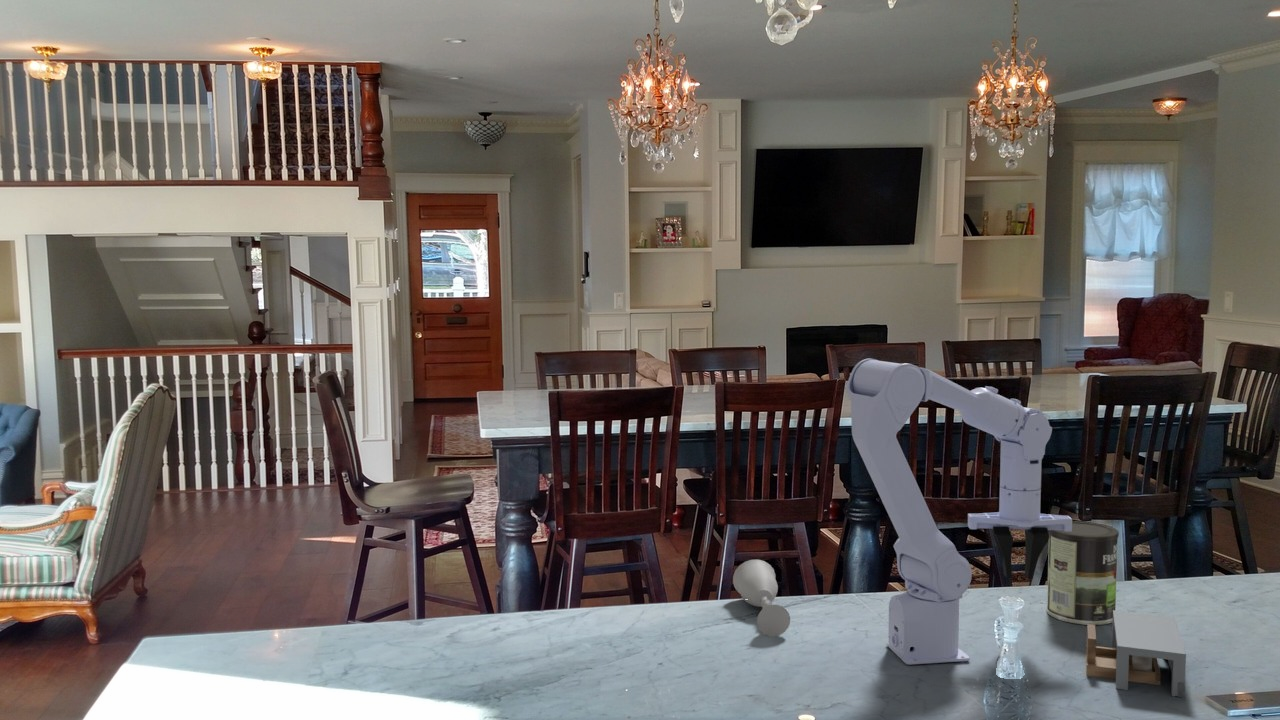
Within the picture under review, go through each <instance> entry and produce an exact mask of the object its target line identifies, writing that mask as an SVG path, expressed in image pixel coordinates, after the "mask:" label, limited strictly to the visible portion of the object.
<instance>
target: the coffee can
mask: <svg viewBox="0 0 1280 720" xmlns="http://www.w3.org/2000/svg"><path fill="white" fill-rule="evenodd" d="M1119 532H1120V531H1119V530H1118V529H1116V528H1115V527H1112V526H1110V525H1107V524H1103V523H1097V522H1091V521H1081V520H1072V531H1071V532H1070V531H1064V530H1048V533H1049V540H1048V551H1047V552H1048V555H1047V556H1048V558H1047V559H1048V560H1047V595H1046V596H1047V601H1046V603H1047V605H1046V613H1047V614H1048V615H1049V616H1051V617H1052V618H1054V619H1056V620H1059V621H1061V622H1065V623H1070V624H1074V625H1075V624H1076V625H1081V626H1082V625H1084V626H1087V624H1090V625H1095V626H1103V625H1108V624H1112V622H1113V610H1115V611H1116V606H1117V605H1116V603H1117V602H1116V600H1117V568H1118V567H1117V566H1118V540H1119V539H1118V538H1119Z"/></svg>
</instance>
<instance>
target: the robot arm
mask: <svg viewBox="0 0 1280 720" xmlns="http://www.w3.org/2000/svg"><path fill="white" fill-rule="evenodd" d="M851 370H852V371H851V373H850V375H849V377H848V380H847V382H846V385H845V392H846V394H847V396H848V398H849V400H850V411H851V415H850V417H851V418H850V419H851V435H852V439H853V442H854V444H855V446H856V448H857V450H858V453H859V455H860V457H861V459H862V461H863V463H864V466H865V467H866V468H865V469H866V470H867V472H868V474H869V476H870V478H871V481H872V482H873V484H874V487H875V489H876V491H877V493H878V495H879V497H880V498H879V499H881V502H882V504H883V506H884V508H885V511H886V512H887V514H888V515H887V516H888V517H889V519H890V521H891V523H892V525H893V528H894V530H895V532H896V534H897V536H898V538H897V539H896V541H895V542H894V544H893V546H892V547H893V548H894V551H895V554H896V562H897V563H896V567H897V572H898V573H899V576H900V577H901V578H902V579H903V580H904V588H905V589H907V591H905V592H903V593H900V594H895V595H892V596H891V597H890V600H889V604H888V641H886V646H887V647H888V648H889V649H890V650H891V651H892V652H893V653H894V654H895V655H896V656H897V657H898V658H900V660H901V661H902V662H903V663H904V664H906V665H908V666H909V665H922V664H923V665H925V664H939V663H941V664H942V663H954V662H955V663H956V662H969V661H970V660H971V658H970V656H969V655H968V654H967V653H965V652H964V651H963V650H962V649H960V648H959V639H960V638H959V636H960V635H959V633H960V632H959V631H960V630H959V629H960V600H961V599H963V595H964V594H965V592H967V590H968V588H969V587H970V584H971V581H972V573H973V571H972V567H971V565H970V563H969V562H970V561H968V560H967V558H966V557H964V556H963V555H961V554H960V553H959V552H958V550H957V548H956V545H955V544H954V543H953V542H952V541H951V540H950V539H949V538H948V537H947V536H946V535H944V534H943V532H941V531H940V530H939V529H938V527H937V524H936V522H935V520H934V518H933V516H932V513H931V511H930V509H929V507H928V505H927V502H926V500H925V498H924V496H923V494H922V492H921V489H920V487H919V485H918V482H917V480H916V478H915V476H914V473H913V471H912V470H911V467H910V465H909V462H908V460H907V458H906V457H905V453H904V452H903V449H902V447H901V445H900V443H899V441H898V438H897V434H898V432H899V431H901V430H902V428H903V427H904V426H905V424H906V423H907V421H908V420H909V418H910V417H911V415H912V414H913V413H914V411H915V410H916V409H917V407H918V406H919V404H920V403H921V402H925V403H926V402H928V401H929V400H930V401H932V402H936V403H938V404H941V405H943V406H946V407H948V408H951V409H953V410H956V411H959V412H960V417H961V419H962V421H963V422H964V423H965V424H967V425H968V426H971V427H974V428H976V429H978V430H981V431H982V432H986V433H987V434H989V435H992V436H994V439H995V440H996V441H998V442H1000V463H999V465H1000V466H999V468H1000V469H999V471H1000V472H999V500H998V501H999V506H998V511H997V512H982V513H980V512H979V513H967V527H968V528H969V530H978V529H989V531H990V533H991V535H992V537H993V539H994V542H995V545H996V547H997V550H998V553H999V556H1000V560H1001V561H1000V562H1001V564H1002V565H1001V566H1002V573H1003V576H1004V577H1005V579H1012V571H1013V570H1012V569H1013V568H1012V555H1013V554H1012V553H1013V544H1014V543H1013V542H1014V536H1013V535H1012V531H1011V530H1024V539H1025V540H1024V541H1025V558H1024V576H1025V577H1026V578H1027V579H1029V580H1030V579H1031V580H1033V579H1034V573H1035V571H1036V567H1037V564H1038V561H1039V559H1040V556H1041V554H1042V552H1043V550H1044V548H1045V547H1046V545H1047V544H1048V543H1049V531H1048V530H1064V531H1070V532H1071V531H1072V521H1073V518H1071V517H1070V516H1069V515H1063V514H1062V515H1061V514H1057V515H1056V514H1049V513H1048V514H1046V513H1041V492H1042V489H1041V488H1042V462H1043V461H1042V460H1043V459H1044V455H1046V447H1047V446H1046V445H1047V443H1048V442H1049V440H1050V439H1051V435H1052V432H1053V427H1052V426H1051V425H1050V422H1049V420H1048V418H1047V416H1046V415H1045V413H1044V412H1042V411H1041V410H1040V409H1036V408H1030V407H1024V406H1023V405H1022V401H1021V400H1019V399H1016V398H1010V399H1009V398H1007V397H1005V396H1003V395H1000V394H998V393H999V389H998V388H995V387H993V386H987V385H985V386H984V387H975V388H974V389H971V390H969V389H968V388H966V387H963V386H962V385H959V384H958V383H955V382H953V380H949V379H947V378H946V377H944V376H942V375H940V374H938V373H936V372H934V371H932V370H930V369H928V368H925V367H919V366H916V365H915V364H912V363H907V362H906V363H897V362H891V361H883V360H878V359H875V358H865V359H862V360H860V361H858V363H856V364H855V366H854V367H853V368H852V369H851Z"/></svg>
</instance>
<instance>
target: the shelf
mask: <svg viewBox="0 0 1280 720" xmlns="http://www.w3.org/2000/svg"><path fill="white" fill-rule="evenodd" d="M1111 624H1112V625H1111V626H1112V629H1111V633H1112V634H1111V648H1116V649H1117V659H1116V679H1115V689H1118V690H1125V691H1128V690H1129V681H1128V671H1129V655H1135V656H1143V657H1151V658H1157V659H1162V660H1168V665H1169V669H1170V673H1171V689H1170V690H1171V691H1170V693H1171V696H1172V697H1175V696H1178V698H1183V697H1184V698H1185V689H1186V688H1185V686H1186V668H1187V667H1186V666H1187V665H1186V663H1187V661H1186V660H1187V654H1186V649H1185V646H1184V642H1183V639H1182V637H1181V633H1180V630H1179V627H1178V622H1177V620H1176V617H1175V616H1172V615H1171V616H1170V615H1160V614H1150V613H1142V612H1132V611H1131V612H1130V611H1122V610H1116V609H1115V610H1113V622H1112V623H1111Z"/></svg>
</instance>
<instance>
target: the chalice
mask: <svg viewBox="0 0 1280 720" xmlns="http://www.w3.org/2000/svg"><path fill="white" fill-rule="evenodd" d="M776 576H777V575H776V573H775V569H774V567H772V565H771V564H769V563H768V562H766V561H765V560H761V559H749V560H746V561H744V562H743V563H741V564H739V565H738V567H736V569H735V571H734V573H733V575H732V584H733V587H734V588H735V590H736V591H737V593H739V594H740V595H741V598H742V599H743V600H744V599H748V600H744V602H746V603H747V604H749V605H751V606H754V607H758V608H760V607H761V610H760V612H759V613H758V615H757V618H756V624H757V627H758V629H759V631H760V632H761V633H762V634H764V635H765V636H768V637H777V636H781V635H782V634H784V633H785V632H786V631H787V630H788V629H789V626H790V623H791V616H790V613H789V611H788V610H787V609H786V608H785V607H783V606H782V605H779V604H772V603H773V602H774V600H775V598H776V596H777V595H778V590H779V585H778V582H777V580H776V578H777V577H776Z"/></svg>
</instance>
